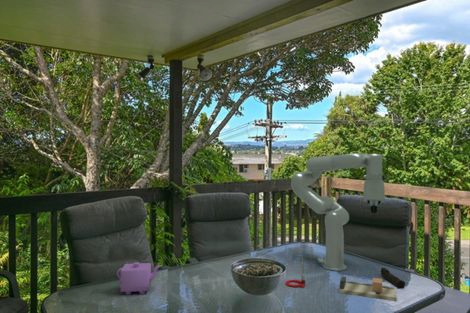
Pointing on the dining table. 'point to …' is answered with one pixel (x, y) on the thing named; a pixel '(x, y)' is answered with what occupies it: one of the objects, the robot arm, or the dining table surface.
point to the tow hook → (302, 282)
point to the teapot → (136, 277)
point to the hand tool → (392, 278)
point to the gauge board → (366, 290)
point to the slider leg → (377, 285)
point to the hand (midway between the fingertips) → (373, 213)
